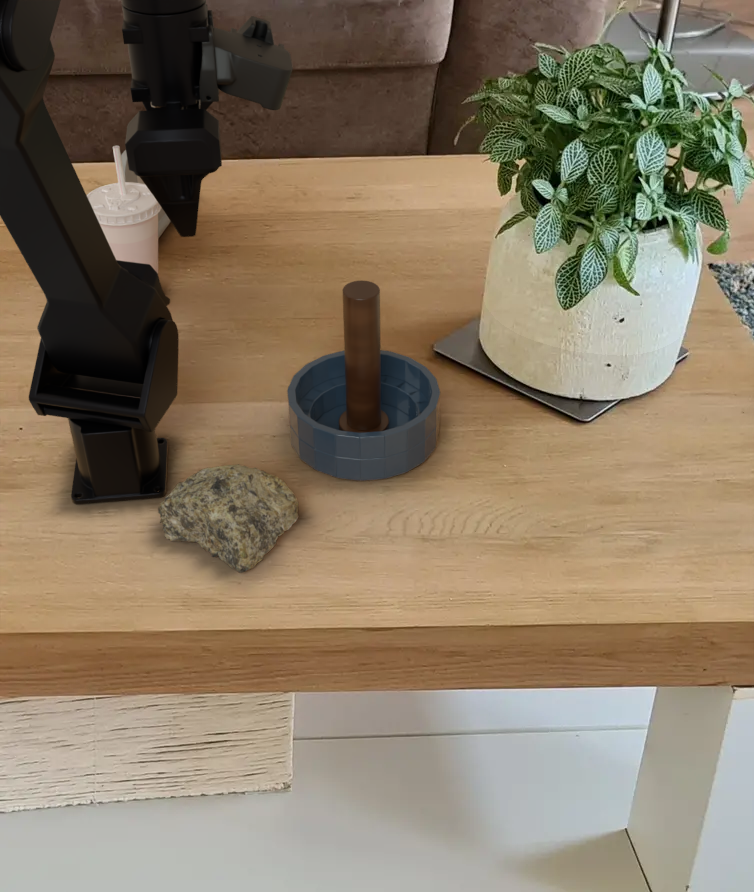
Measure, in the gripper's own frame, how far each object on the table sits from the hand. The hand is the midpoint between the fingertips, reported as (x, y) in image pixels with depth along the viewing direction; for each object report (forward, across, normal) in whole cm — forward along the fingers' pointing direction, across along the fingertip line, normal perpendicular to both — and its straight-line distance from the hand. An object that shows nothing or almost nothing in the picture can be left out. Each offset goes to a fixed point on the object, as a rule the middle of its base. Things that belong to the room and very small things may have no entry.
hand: (188, 207), depth 90 cm
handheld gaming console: (+13, +23, +8) cm, 28 cm away
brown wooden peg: (+12, -14, -12) cm, 22 cm away
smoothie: (+13, +9, +6) cm, 17 cm away
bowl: (+13, -14, -12) cm, 23 cm away
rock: (+13, -24, -2) cm, 27 cm away
